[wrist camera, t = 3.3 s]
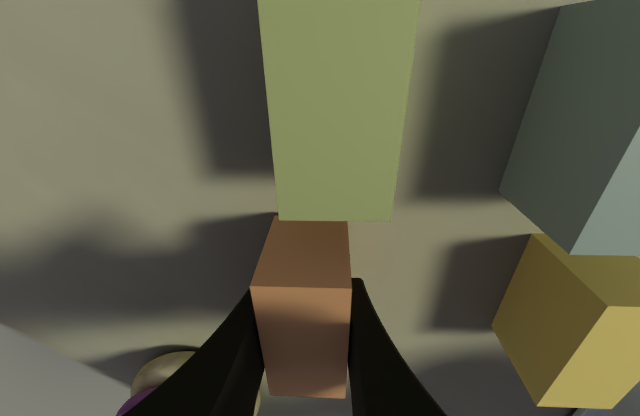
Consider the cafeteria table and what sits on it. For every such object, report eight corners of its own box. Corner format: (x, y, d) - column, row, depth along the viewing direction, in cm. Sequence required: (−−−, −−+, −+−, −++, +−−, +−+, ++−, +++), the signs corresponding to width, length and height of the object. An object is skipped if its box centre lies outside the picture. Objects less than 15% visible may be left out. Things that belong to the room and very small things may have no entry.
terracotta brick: (342, 315, 15) (345, 398, 11) (285, 313, 15) (270, 395, 11) (346, 216, 12) (352, 288, 8) (274, 215, 12) (249, 286, 8)
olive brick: (372, 166, 11) (390, 221, 8) (295, 165, 11) (279, 220, 8) (389, -34, 8) (433, -95, 5) (284, -32, 8) (248, -89, 5)
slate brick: (574, 190, 11) (683, 256, 8) (496, 190, 11) (569, 254, 8) (666, 4, 8) (911, -26, 5) (558, 6, 8) (720, -22, 5)
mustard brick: (547, 325, 15) (611, 409, 12) (489, 323, 15) (536, 406, 12) (602, 233, 12) (710, 308, 9) (529, 232, 12) (607, 306, 9)
